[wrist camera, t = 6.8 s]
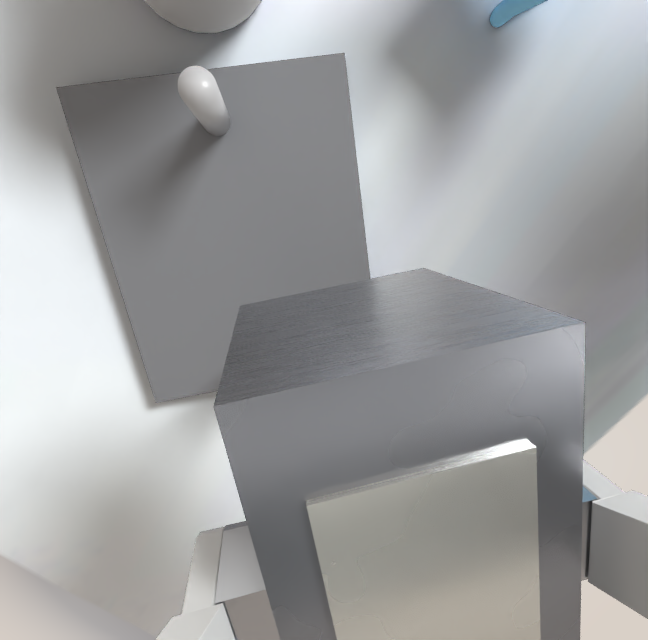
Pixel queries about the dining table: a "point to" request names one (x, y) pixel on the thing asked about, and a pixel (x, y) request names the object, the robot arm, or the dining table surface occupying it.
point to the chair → (511, 10)
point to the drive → (410, 460)
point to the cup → (204, 13)
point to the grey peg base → (219, 199)
